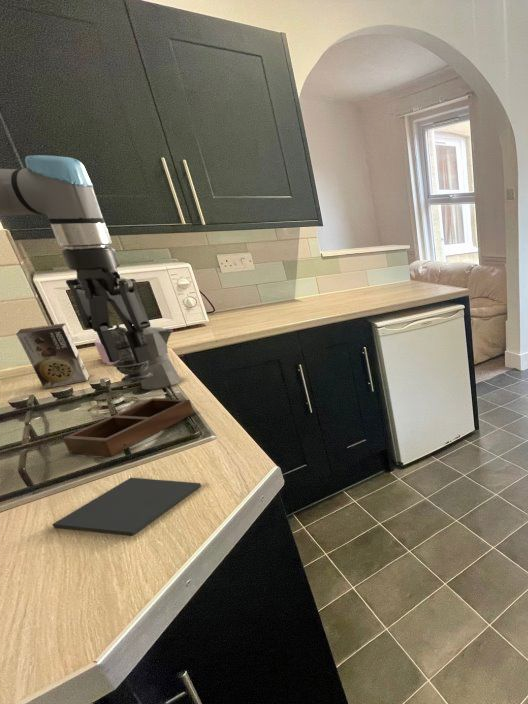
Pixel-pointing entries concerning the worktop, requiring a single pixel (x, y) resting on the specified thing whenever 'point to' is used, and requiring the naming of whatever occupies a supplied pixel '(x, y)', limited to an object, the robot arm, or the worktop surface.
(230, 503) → the worktop surface
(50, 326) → the cookie mix box
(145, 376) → the grey chess piece
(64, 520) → the mat
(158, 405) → the brown shallow rectangular box
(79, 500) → the worktop surface
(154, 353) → the coffeepot
